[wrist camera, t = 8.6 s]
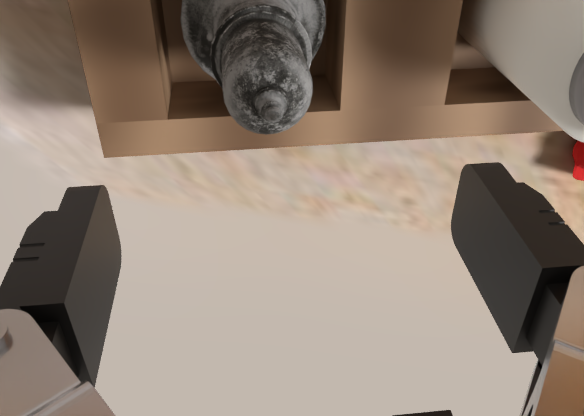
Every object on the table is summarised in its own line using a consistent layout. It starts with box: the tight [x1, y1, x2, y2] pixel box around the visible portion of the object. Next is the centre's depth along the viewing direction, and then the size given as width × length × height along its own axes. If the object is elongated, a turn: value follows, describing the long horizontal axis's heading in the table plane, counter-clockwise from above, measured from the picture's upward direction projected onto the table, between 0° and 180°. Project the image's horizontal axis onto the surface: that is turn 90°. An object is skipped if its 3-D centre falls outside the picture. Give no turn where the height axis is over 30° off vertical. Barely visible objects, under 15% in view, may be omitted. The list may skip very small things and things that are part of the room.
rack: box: [68, 0, 564, 158], centre depth 25 cm, size 26×11×5 cm, turn 90°
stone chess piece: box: [180, 0, 326, 135], centre depth 20 cm, size 6×6×12 cm
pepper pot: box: [458, 0, 584, 143], centre depth 22 cm, size 6×6×11 cm
